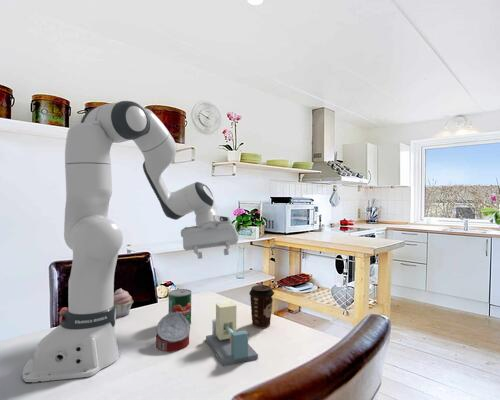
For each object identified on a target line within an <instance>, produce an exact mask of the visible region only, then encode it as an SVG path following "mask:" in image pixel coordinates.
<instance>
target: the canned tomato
mask: <svg viewBox="0 0 500 400" xmlns="http://www.w3.org/2000/svg"><path fill="white" fill-rule="evenodd" d="M172 312H177V313H181V314H183V315H184V316H185V317H186V319H187V320H188V322H189V325H190V326H191V324H192V290H191V289H187V288H180V289H179V288H177V289H172V290H170V291H169V292H168V313H172Z"/></svg>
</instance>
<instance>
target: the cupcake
mask: <svg viewBox="0 0 500 400" xmlns="http://www.w3.org/2000/svg"><path fill="white" fill-rule="evenodd" d="M133 303H134V300H133V297H132V296H131V295H130V294H129V292H128V291H126V290H124V289H122V287H121V288H119V289H116V290H115V291H114V304H115V308H116V318H123V317H122V316H124V317H126V316H129V314H130V312H131V307H132V305H133Z"/></svg>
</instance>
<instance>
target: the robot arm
mask: <svg viewBox="0 0 500 400" xmlns="http://www.w3.org/2000/svg"><path fill="white" fill-rule="evenodd" d="M128 141H133V142H134V144H135V145H136V146H137V148H138V149H139V151H140V153H142V155H143V158H144V161H143V163H142V169H143V173H144V175H145V177H146V179H147V181H148V184H149V185H150V188H151V189H152V190H153V193H154V194H155V196H156V198H157V200H158V202H159V204H160V206H161V209H162V211H163V213H164V215H165V217H166V218H169V219H172V220H174V221H175V220H179V219H181V218H182V217H184V216H186V215H188V214H190V213H193V212H194V215H195V225H196V226H195V225H194V226H185V227H184V228H182V229H181V230H180V237H182V246H183V247H182V248H183V250H184V251H193V252H194V254H196V255H197V259H198V260H201V259H203V252H202V251H199V250H200V249H201V250H203V249H208V248H209V249H210V248H216V247H222V246H223V247H225V248H224V249H223V254H224V256H228V255H230V253H229V252H230V251H229V250H230V247H231V246H233V245H237V243H239V235H238V234H239V233H238V231H237V229H236V227H235V224H233V223H232V219H231V217H229V216H223V215H218V213H217V204H216V201H215V198H214V196H213V192H212V191H211V189H210V188H209V187H208V186H207V185H206V184H204V183H202V182H199V181H196V182H193V183H190V184H188V185H186V186H184V187H182V188H180V189H178V190H175V191H169V189H168V187H167V185H166V183H165V181H164V180H163V177H162V174H163V172H165V170H166V169H167V168H168V167H169V166H170V164H171V163H172V162H173V161H174V160H175V157H176V154H177V144H176V141H175V139H174V137H173V136H172V135H171V132H170V131H169V130H168V128H167V127H166V126H165V124H164V123H163V122H162V120H161V119H160V118H159V117H158V116H157V115H156V114H155V113H154V112H153V111H152V110H151V109H149V108H146V107H145V108H144V107H143V106H141V105H140V104H139V103H137V102H136V101H131V100H121V101H118V102H112V103H105V104H102V105H100V106H96V107H94V108H91V109H89V110H88V111H87V112H86V113H85V114H84V115H83V116H82V118H81V121H80V122H79V123H76V124H73V125H72V126H70V127H69V128H68V130H67V134H66V141H65V148H64V150H65V151H64V169H65V172H64V173H65V194H66V195H65V208H64V225H63V226H64V229H63V238H64V241H65V244H66V246H67V247H68V248H69V249H70V250H71V251H72V262H71V269H70V275H69V277H68V292H67V294H68V298H67V299H68V300H67V302H68V307H66V306H65V307H62V308H61V309H60V311H59V313H58V314H59V318H58V322H59V325H58V326H57V327H55V328H54V329H52V330H51V331H50V332H49V333H47V334H46V335H45V336H44V337H43V338H42V339H41V340H40V341H39V343H38V344H37V346H36V348H35V350H34V353H33V357H31V358H30V359H29V360H27V362H26V364H25V365H24V367H23V369H22V373H21V380H22V379H23V380H24V381H25V382H32V383H39V382H38V381H41V382H50V380H51V381H61V380H68V379H69V380H70V379H77V378H87V377H88V378H89V377H92V376H95V375H96V374H97V373H98V372H99V371H100V370H103V369H104V368H106V367H108V366H110V365H113V363H115V362H116V361H117V360H118V358H119V357H120V354H121V352H120V349H119V347H118V346H119V345H118V342H117V337H116V330H115V325H116V322H117V321H116V319H117V317H116V308H115V304H114V293H115V291H114V290H115V289H114V288H115V284H114V283H115V272H116V266H117V264H118V263H117V261H118V257H119V251H120V250H121V248H122V246H123V241H124V239H123V238H124V237H123V232H122V231H121V229H120V228H119V226H118V225H117V224H116V223H115V222H114V221H112V219H109V218H108V214H109V206H110V200H111V197H112V194H113V187H112V185H113V184H112V165H111V164H112V163H111V154H110V152H111V147H112V145H113V144H117V143H118V144H120V143H124V142H128ZM23 380H22V381H23ZM24 381H23V382H24ZM25 382H24V383H25Z"/></svg>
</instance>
